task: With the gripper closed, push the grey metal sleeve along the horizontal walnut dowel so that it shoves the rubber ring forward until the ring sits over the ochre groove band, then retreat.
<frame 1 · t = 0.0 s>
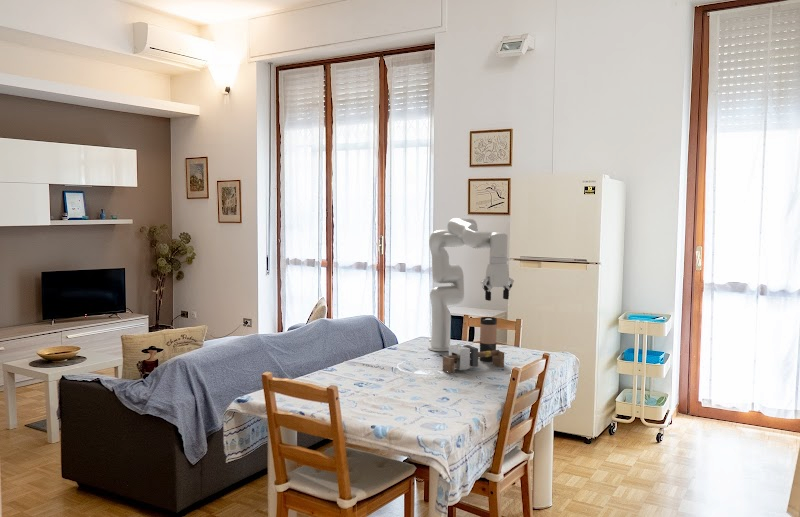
hand: (497, 299, 296), 31 cm above the table, fingers open, 9 cm apart
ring: (470, 355, 298), point 6 cm above the table, slide at -2.0 cm
travel mug: (487, 360, 315), on the table
dowel rail: (473, 368, 299), on the table
sleeve: (459, 357, 295), point 6 cm above the table, slide at -8.0 cm
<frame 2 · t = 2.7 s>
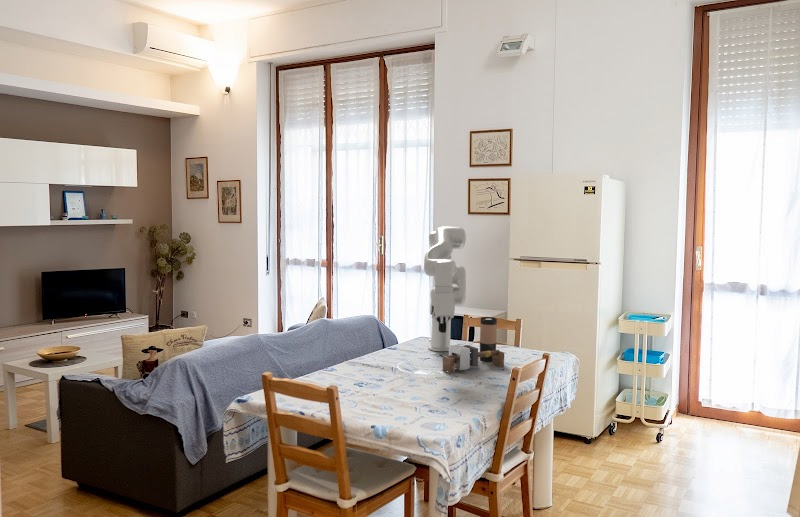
hand: (442, 332, 289), 18 cm above the table, fingers closed
nothing on the table moved.
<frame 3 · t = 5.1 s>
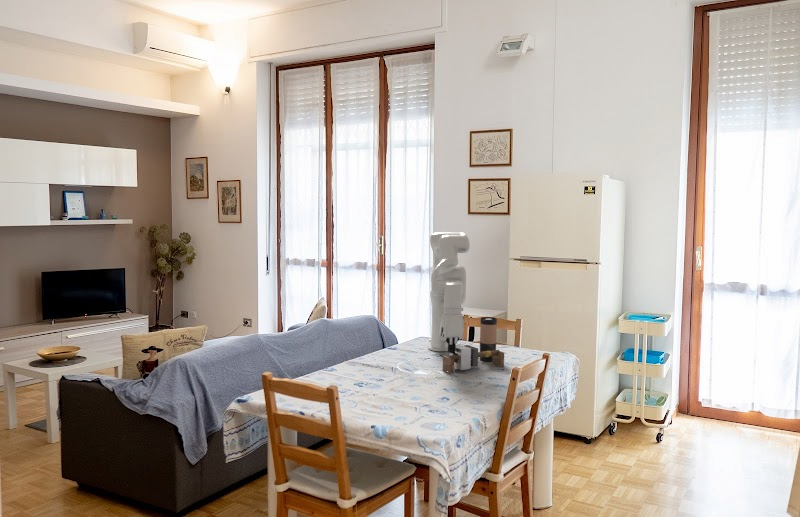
hand: (451, 352, 293), 8 cm above the table, fingers closed
sleeve: (460, 357, 295), point 6 cm above the table, slide at -7.5 cm, touching gripper
everything else where it was.
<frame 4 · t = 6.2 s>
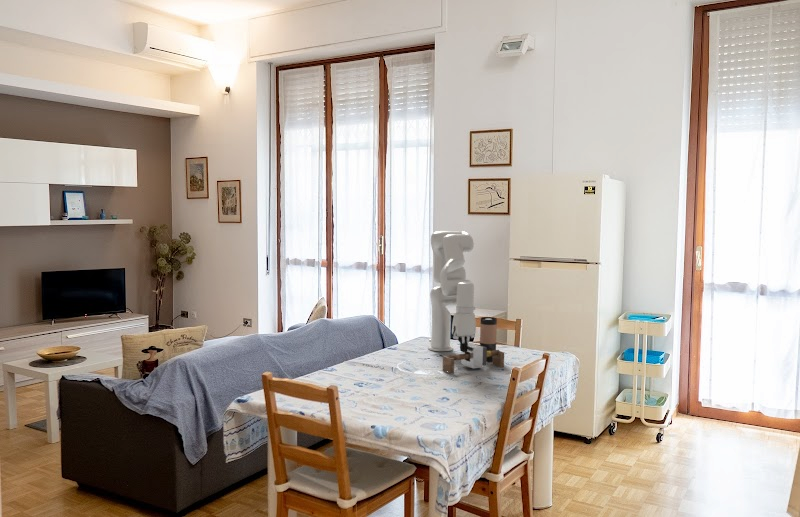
hand: (463, 351, 296), 8 cm above the table, fingers closed
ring: (478, 354, 300), point 6 cm above the table, slide at 2.7 cm, touching sleeve
sleeve: (472, 355, 298), point 6 cm above the table, slide at -1.1 cm, touching gripper, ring
everything else where it was.
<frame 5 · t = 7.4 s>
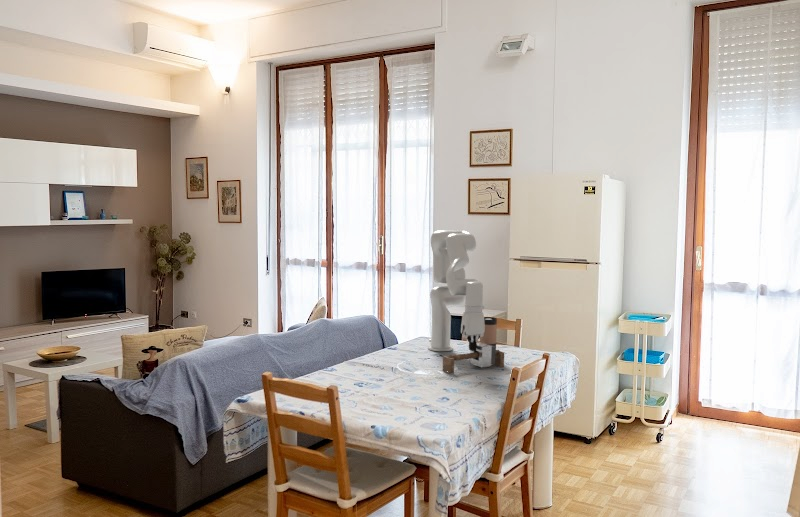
hand: (472, 350, 298), 8 cm above the table, fingers closed
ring: (487, 353, 302), point 6 cm above the table, slide at 7.4 cm, touching sleeve
sleeve: (480, 354, 301), point 6 cm above the table, slide at 3.6 cm, touching gripper, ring
everything else where it was.
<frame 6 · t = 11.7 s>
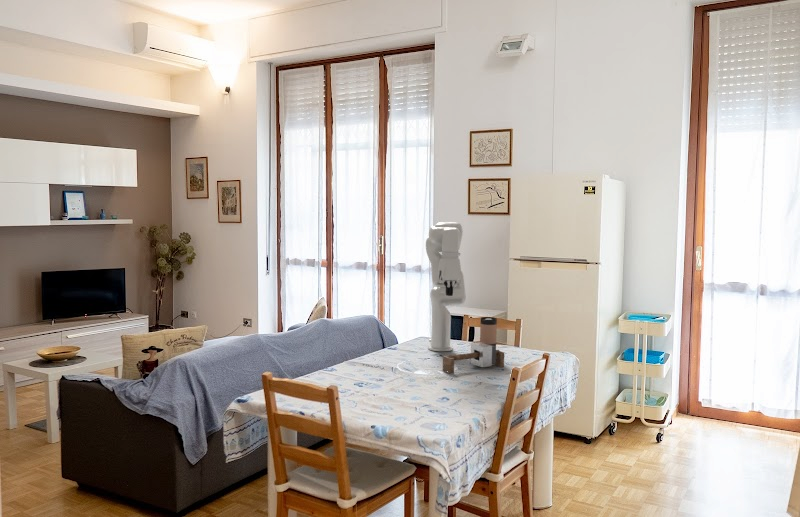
hand: (449, 295, 308), 31 cm above the table, fingers closed
sleeve: (481, 354, 301), point 6 cm above the table, slide at 3.9 cm, touching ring
everything else where it was.
at the end: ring slide at 7.7 cm; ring moved 9.7 cm from its start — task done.
